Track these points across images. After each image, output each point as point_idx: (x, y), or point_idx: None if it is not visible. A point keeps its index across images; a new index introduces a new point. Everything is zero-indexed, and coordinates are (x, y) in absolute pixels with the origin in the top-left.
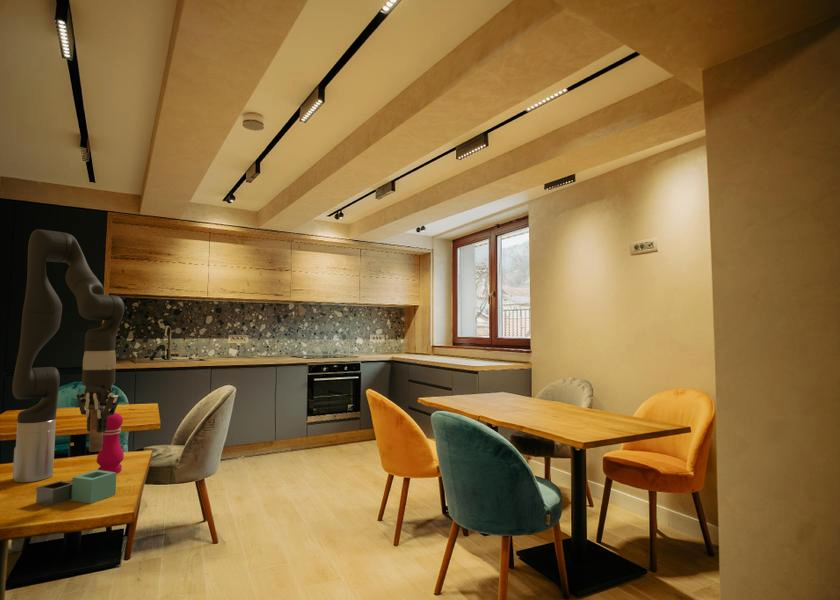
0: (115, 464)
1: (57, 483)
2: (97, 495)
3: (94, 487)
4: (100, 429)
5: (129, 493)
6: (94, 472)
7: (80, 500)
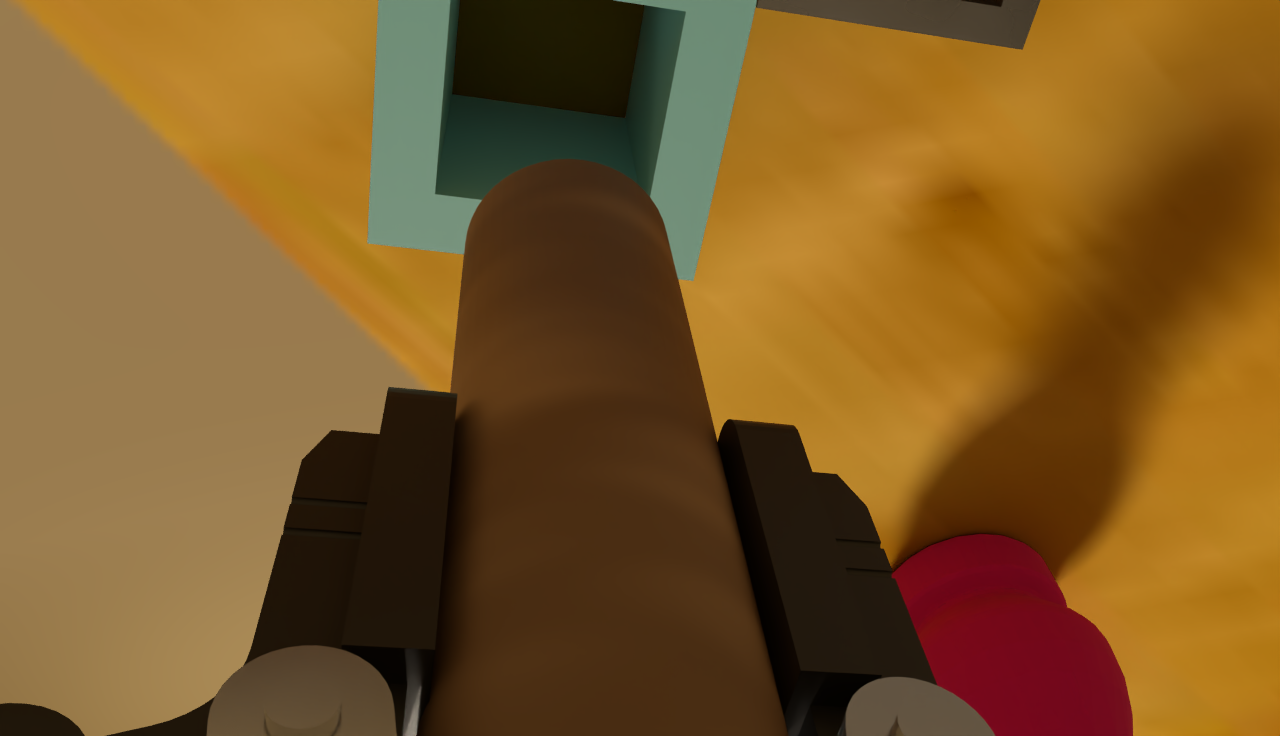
0: None
1: None
2: None
3: None
4: (354, 447)
5: (295, 201)
6: (650, 191)
7: None
